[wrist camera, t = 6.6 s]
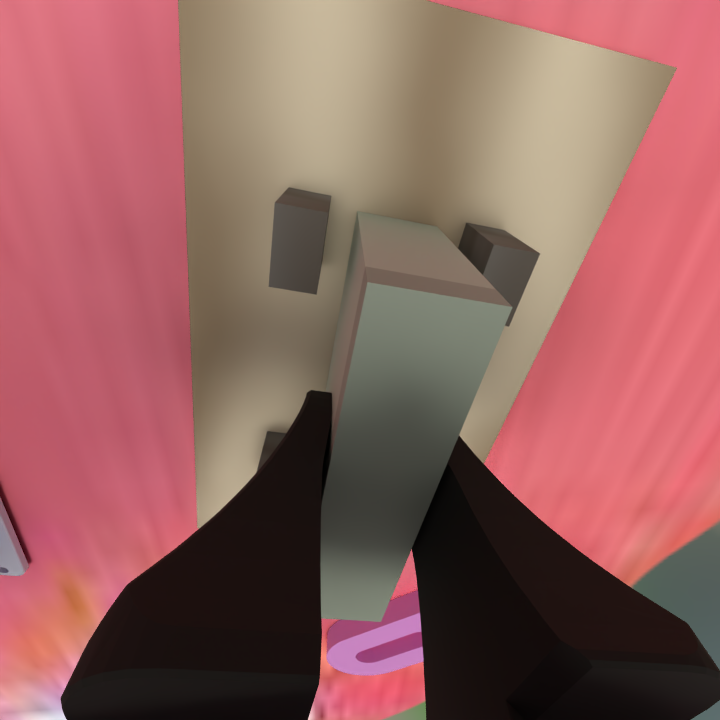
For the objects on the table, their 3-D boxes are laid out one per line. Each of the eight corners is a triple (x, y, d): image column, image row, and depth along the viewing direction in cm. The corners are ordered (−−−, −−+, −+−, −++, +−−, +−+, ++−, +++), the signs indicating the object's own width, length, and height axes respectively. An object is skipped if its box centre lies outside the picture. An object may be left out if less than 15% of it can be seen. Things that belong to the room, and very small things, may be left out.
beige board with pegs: (204, 510, 19) (177, 581, 16) (191, -49, 9) (115, -135, 6) (437, 531, 21) (453, 600, 18) (649, 72, 11) (771, 51, 8)
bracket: (491, 559, 22) (544, 716, 16) (526, 601, 25) (583, 751, 19) (310, 628, 26) (299, 779, 20) (357, 658, 28) (360, 801, 22)
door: (313, 460, 16) (298, 617, 11) (357, 210, 11) (367, 281, 6) (369, 467, 16) (380, 621, 11) (437, 226, 11) (512, 306, 6)
